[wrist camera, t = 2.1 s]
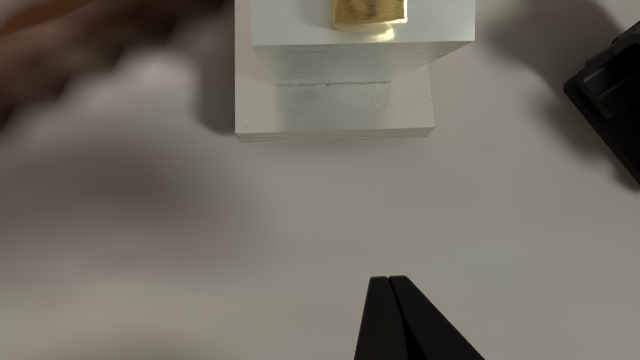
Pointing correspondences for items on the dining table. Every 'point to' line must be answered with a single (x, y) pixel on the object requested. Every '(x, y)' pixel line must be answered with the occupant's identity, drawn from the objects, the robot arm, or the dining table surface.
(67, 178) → the dining table surface
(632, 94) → the end cap
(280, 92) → the gray rectangular block
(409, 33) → the brushed metal block
